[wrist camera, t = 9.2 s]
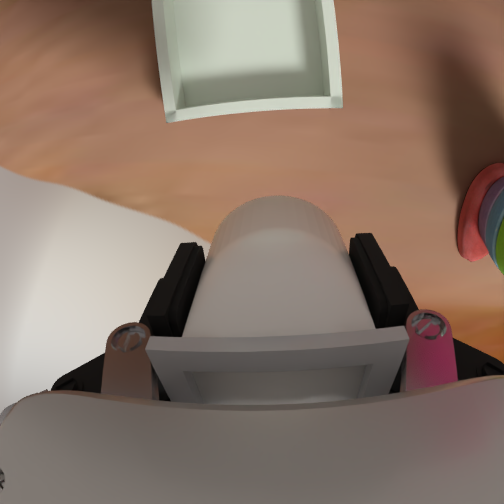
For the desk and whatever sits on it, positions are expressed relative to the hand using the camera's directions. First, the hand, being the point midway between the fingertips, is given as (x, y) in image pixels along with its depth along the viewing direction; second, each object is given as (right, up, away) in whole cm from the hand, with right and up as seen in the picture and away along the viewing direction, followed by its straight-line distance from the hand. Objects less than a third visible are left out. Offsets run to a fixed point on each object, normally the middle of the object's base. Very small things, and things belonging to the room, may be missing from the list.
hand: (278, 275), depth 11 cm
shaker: (0, +1, +1) cm, 1 cm away
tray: (-2, +21, +5) cm, 22 cm away
